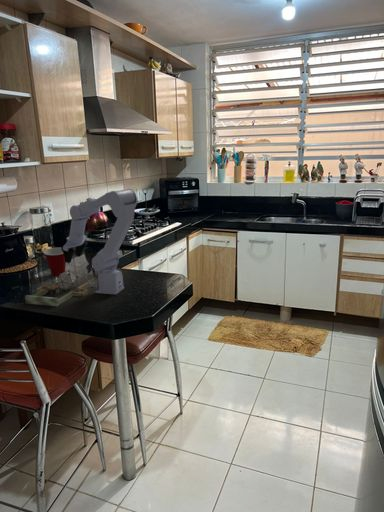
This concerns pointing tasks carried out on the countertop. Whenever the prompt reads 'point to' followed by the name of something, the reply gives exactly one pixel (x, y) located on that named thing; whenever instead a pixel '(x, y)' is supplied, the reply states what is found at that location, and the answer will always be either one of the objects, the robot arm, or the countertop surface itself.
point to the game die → (66, 280)
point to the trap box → (53, 301)
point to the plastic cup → (55, 260)
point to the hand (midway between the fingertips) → (72, 259)
